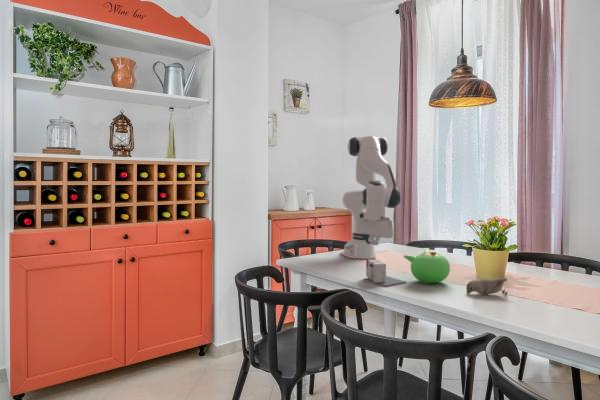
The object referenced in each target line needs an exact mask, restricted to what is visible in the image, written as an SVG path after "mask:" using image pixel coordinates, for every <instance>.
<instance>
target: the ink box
mask: <svg viewBox="0 0 600 400" xmlns="http://www.w3.org/2000/svg"><path fill="white" fill-rule="evenodd" d="M365 263H366V264H365V265H366V266H365V267H366V269H365V271H366V273H365V276H366V278H369V279H371V280H373V281H374V282H376V283H383V282H386V276H387V264H386V263H385V262H382V261H380V260H379V259H376V258H371V259H366V261H365Z"/></svg>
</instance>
